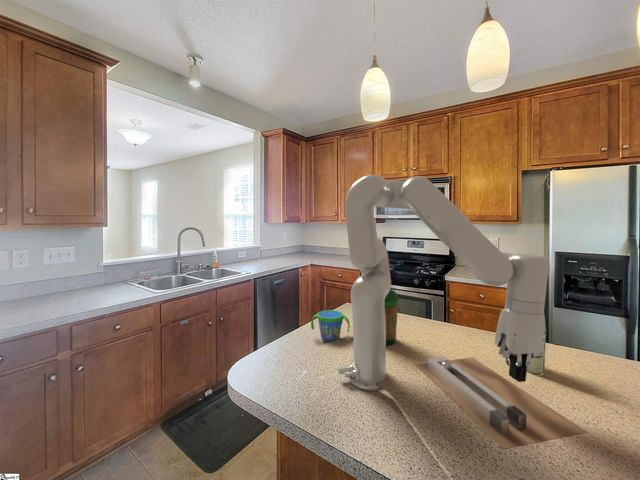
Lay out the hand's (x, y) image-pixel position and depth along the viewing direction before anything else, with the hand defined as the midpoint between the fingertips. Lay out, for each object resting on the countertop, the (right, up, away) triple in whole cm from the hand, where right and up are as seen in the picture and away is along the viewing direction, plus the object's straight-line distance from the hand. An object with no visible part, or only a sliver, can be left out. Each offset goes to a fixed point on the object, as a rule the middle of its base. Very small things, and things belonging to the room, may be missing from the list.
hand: (516, 378), depth 69 cm
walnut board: (-5, -8, +6) cm, 11 cm away
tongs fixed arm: (-9, -7, +5) cm, 13 cm away
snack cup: (-44, -6, +45) cm, 63 cm away
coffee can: (+17, -7, +20) cm, 27 cm away
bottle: (-24, -6, +39) cm, 46 cm away
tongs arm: (-8, -6, +4) cm, 11 cm away
